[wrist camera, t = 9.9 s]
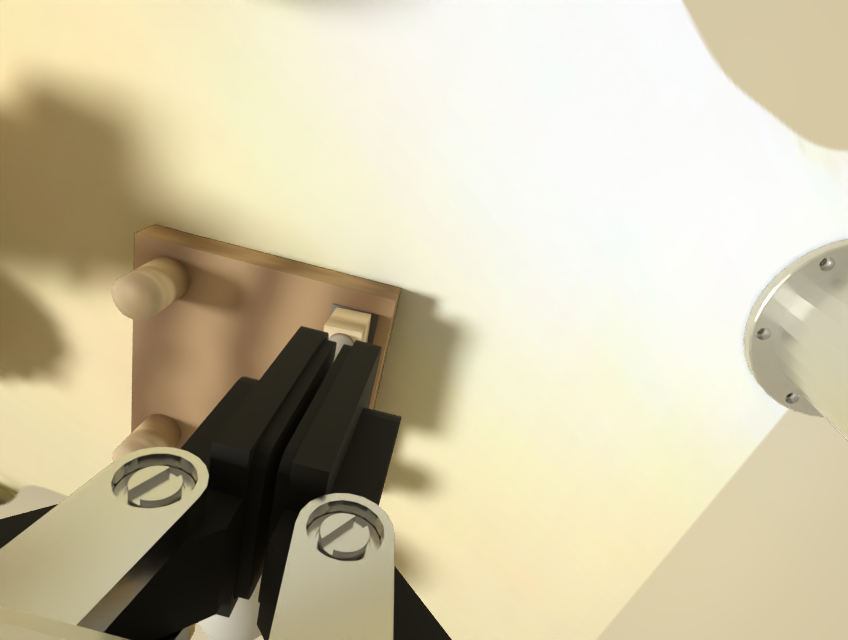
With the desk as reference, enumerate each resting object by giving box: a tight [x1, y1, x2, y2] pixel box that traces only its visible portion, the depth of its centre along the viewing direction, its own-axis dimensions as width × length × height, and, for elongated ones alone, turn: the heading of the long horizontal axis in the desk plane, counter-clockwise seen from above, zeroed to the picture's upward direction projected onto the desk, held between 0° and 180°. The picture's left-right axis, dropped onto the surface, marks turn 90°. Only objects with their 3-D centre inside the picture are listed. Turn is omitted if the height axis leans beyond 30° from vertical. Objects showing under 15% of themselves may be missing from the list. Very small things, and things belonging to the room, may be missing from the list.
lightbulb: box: [198, 575, 262, 640], centre depth 45 cm, size 6×6×11 cm
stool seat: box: [112, 225, 401, 462], centre depth 40 cm, size 18×18×6 cm
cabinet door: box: [324, 307, 371, 361], centre depth 38 cm, size 10×2×4 cm, turn 170°
